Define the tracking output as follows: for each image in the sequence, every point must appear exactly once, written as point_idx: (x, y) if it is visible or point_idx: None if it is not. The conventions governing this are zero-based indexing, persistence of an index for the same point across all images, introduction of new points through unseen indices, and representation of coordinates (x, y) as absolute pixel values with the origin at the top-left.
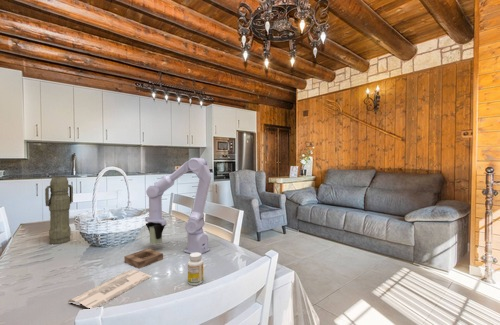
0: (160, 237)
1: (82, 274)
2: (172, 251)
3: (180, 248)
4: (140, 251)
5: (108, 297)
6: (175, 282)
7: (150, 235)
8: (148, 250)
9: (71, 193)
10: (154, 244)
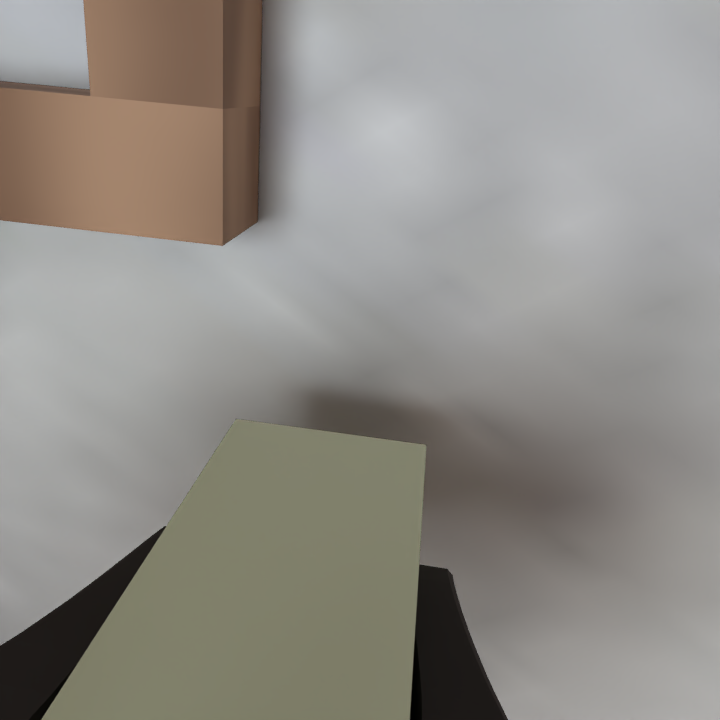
0: None
1: None
2: (18, 472)
3: (35, 597)
4: (193, 3)
5: None
6: None
7: (371, 568)
8: (98, 154)
9: None
10: (238, 422)
